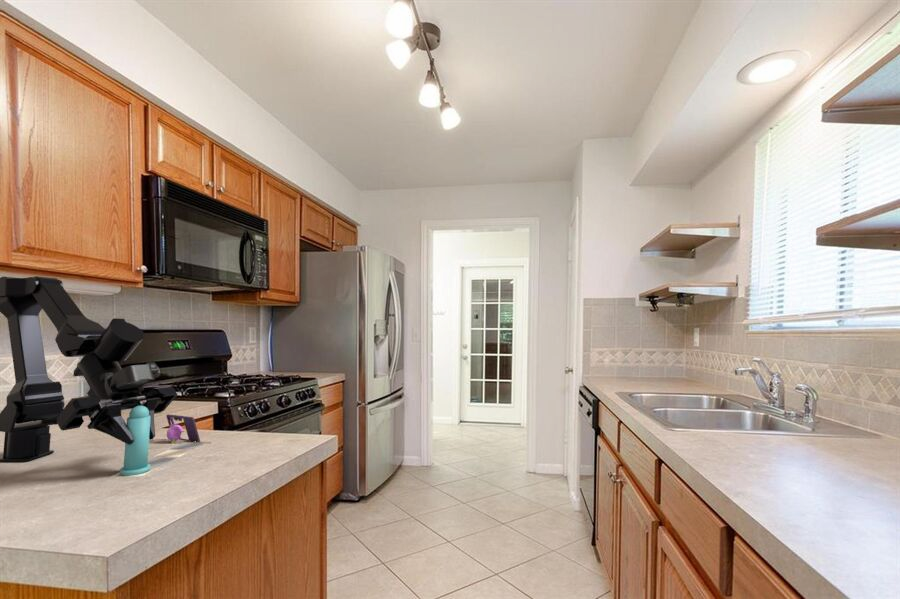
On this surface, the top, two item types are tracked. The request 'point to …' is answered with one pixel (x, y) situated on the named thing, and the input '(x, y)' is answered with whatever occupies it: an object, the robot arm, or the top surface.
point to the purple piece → (177, 430)
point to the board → (168, 454)
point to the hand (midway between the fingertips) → (142, 440)
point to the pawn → (137, 443)
